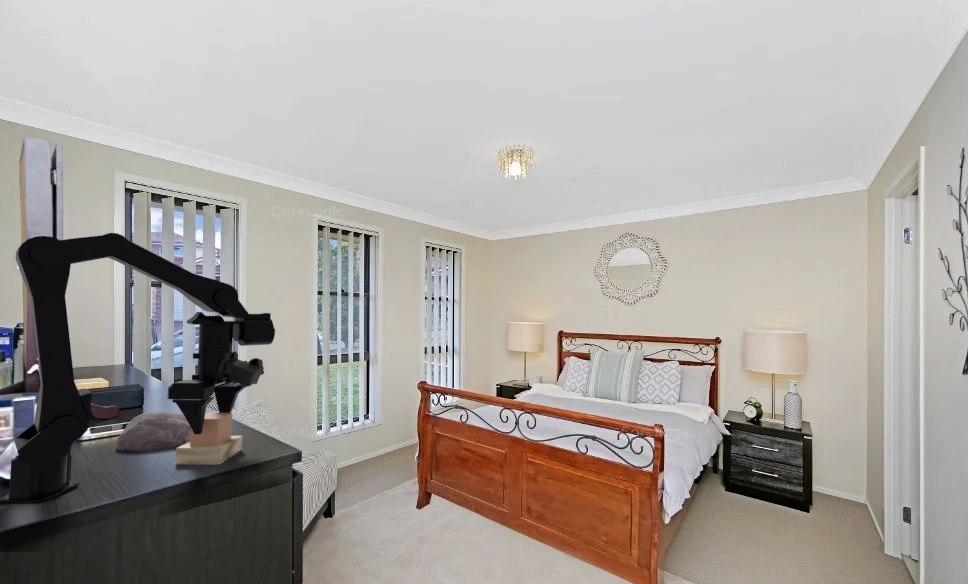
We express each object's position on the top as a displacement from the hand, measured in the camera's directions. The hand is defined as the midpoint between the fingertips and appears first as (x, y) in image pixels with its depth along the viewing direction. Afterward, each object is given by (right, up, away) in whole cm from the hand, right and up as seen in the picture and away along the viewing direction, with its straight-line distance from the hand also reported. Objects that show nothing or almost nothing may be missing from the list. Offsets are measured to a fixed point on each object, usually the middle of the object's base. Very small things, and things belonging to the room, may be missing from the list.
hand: (212, 427), depth 85 cm
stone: (-15, -6, +9) cm, 19 cm away
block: (0, -3, 0) cm, 3 cm away
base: (0, -6, 0) cm, 6 cm away
